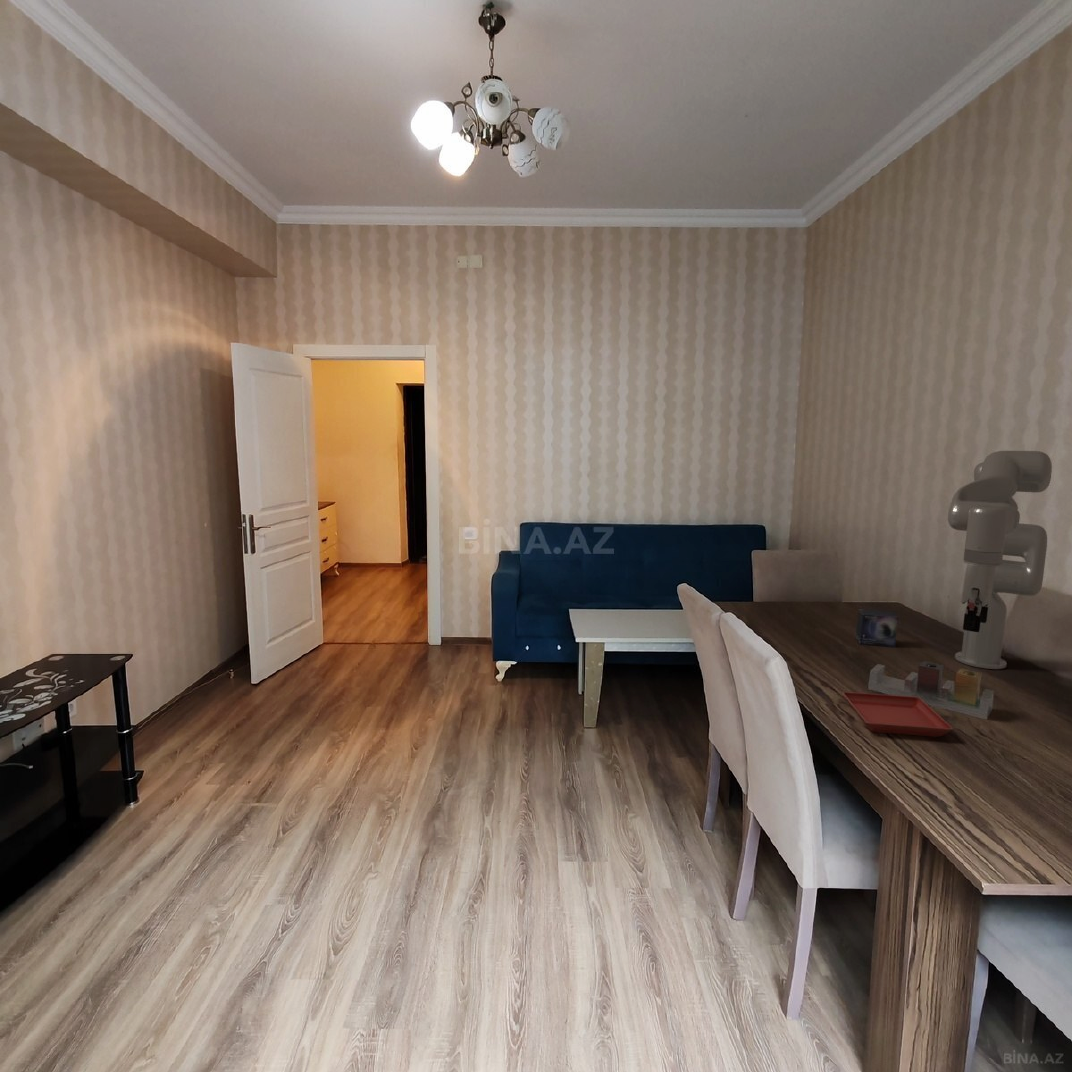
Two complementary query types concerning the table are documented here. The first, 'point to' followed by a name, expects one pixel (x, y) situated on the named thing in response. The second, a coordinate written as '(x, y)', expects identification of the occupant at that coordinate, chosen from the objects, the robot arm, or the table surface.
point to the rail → (942, 700)
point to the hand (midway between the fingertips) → (974, 626)
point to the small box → (876, 628)
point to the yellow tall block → (967, 686)
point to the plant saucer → (897, 714)
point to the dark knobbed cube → (929, 678)
